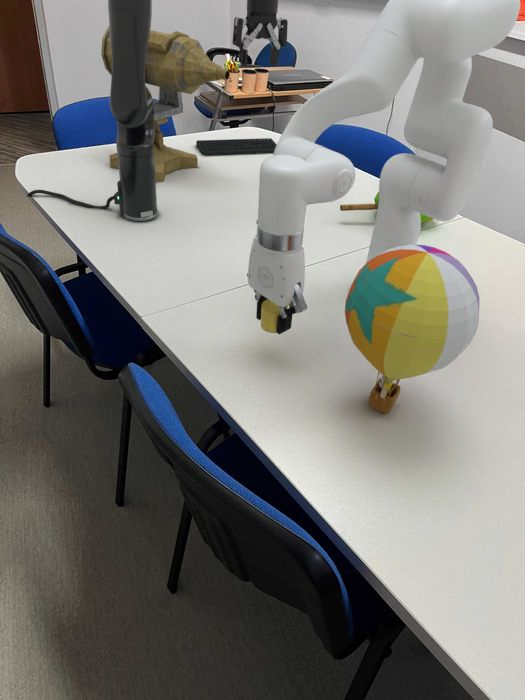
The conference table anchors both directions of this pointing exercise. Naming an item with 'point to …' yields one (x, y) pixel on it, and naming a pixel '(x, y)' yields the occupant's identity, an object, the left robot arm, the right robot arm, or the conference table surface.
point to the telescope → (170, 88)
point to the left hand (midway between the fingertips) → (258, 65)
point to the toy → (410, 315)
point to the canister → (269, 316)
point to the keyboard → (236, 146)
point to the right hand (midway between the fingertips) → (273, 322)
